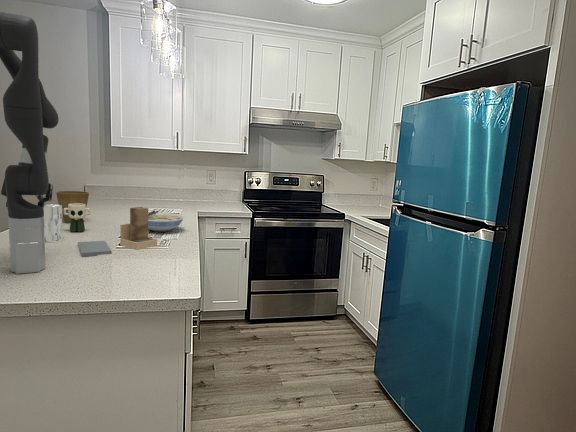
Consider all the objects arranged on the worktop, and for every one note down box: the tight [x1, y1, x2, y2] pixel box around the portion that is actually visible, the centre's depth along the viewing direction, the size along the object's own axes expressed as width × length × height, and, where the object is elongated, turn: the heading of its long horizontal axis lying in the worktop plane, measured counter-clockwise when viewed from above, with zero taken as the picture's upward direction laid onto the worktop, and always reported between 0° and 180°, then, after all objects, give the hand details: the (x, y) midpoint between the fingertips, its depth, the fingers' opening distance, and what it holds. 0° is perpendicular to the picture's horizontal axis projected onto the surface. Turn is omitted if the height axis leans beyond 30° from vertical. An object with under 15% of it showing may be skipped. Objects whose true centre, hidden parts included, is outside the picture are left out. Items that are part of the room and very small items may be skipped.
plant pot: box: [55, 190, 90, 224], centre depth 196 cm, size 15×15×16 cm
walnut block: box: [129, 206, 149, 243], centre depth 156 cm, size 5×5×16 cm
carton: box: [119, 223, 158, 251], centre depth 156 cm, size 13×16×9 cm
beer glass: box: [44, 203, 64, 243], centre depth 157 cm, size 7×7×15 cm
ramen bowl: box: [148, 210, 185, 233], centre depth 191 cm, size 25×23×8 cm
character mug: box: [64, 203, 91, 232], centre depth 176 cm, size 11×7×13 cm, turn 115°
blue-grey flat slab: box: [77, 240, 113, 258], centre depth 147 cm, size 18×10×2 cm, turn 33°
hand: (24, 211), depth 126 cm, fingers open, 8 cm apart
